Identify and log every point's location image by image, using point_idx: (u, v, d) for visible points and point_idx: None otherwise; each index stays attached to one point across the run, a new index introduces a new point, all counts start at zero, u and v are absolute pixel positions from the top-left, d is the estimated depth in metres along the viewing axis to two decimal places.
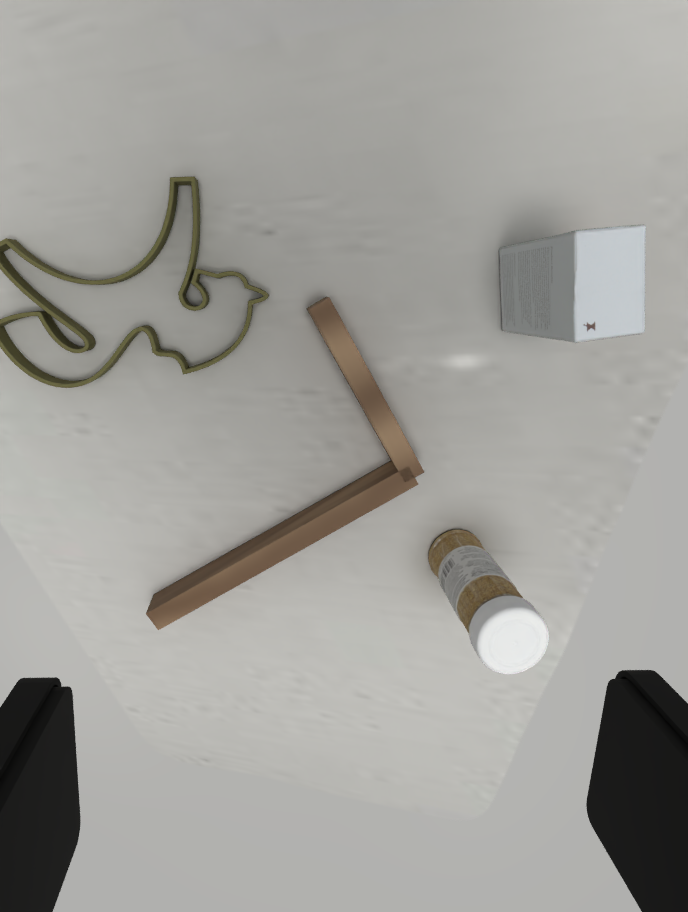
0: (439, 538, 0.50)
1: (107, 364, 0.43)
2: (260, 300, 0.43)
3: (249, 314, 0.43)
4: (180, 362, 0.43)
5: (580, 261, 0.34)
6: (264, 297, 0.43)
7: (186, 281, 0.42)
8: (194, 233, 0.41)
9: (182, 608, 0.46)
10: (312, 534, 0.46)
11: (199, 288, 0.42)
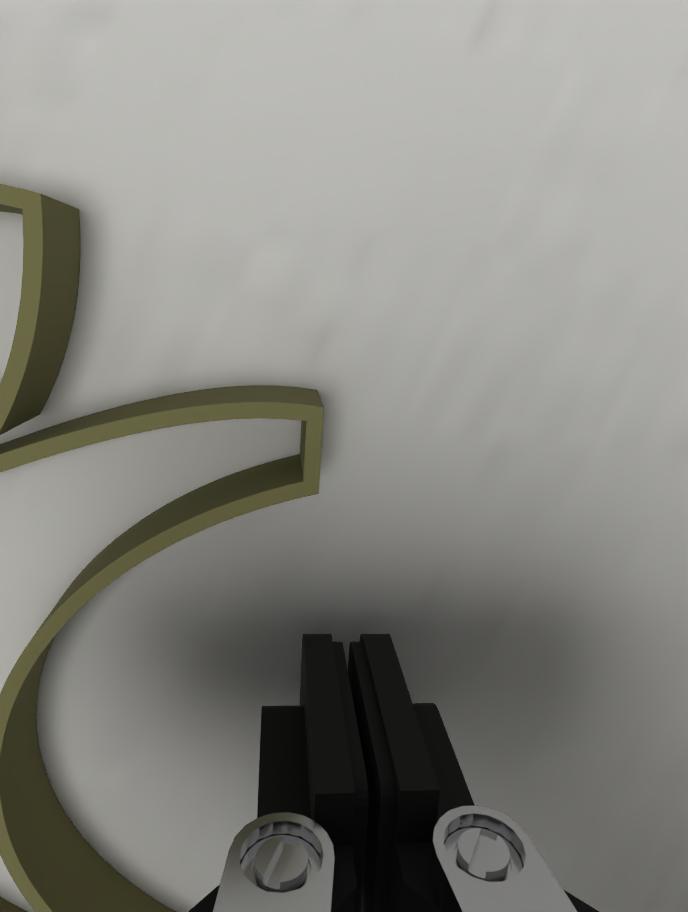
0: None
1: None
2: None
3: None
4: None
5: None
6: None
7: None
8: None
9: None
10: None
11: None
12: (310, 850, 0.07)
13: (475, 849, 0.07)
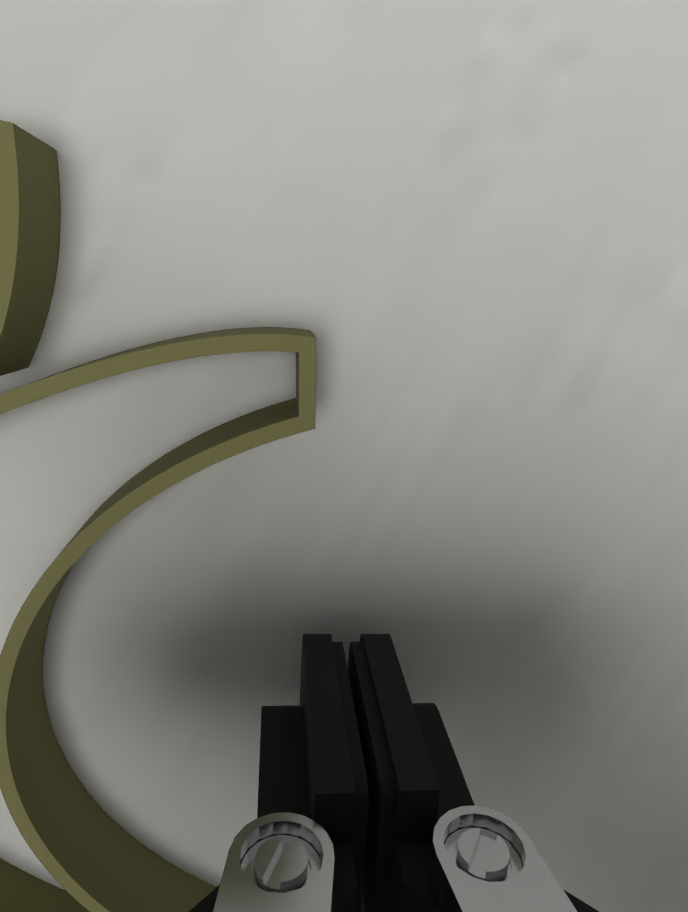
0: None
1: None
2: None
3: None
4: None
5: None
6: None
7: None
8: None
9: None
10: None
11: None
12: (310, 850, 0.07)
13: (475, 849, 0.07)
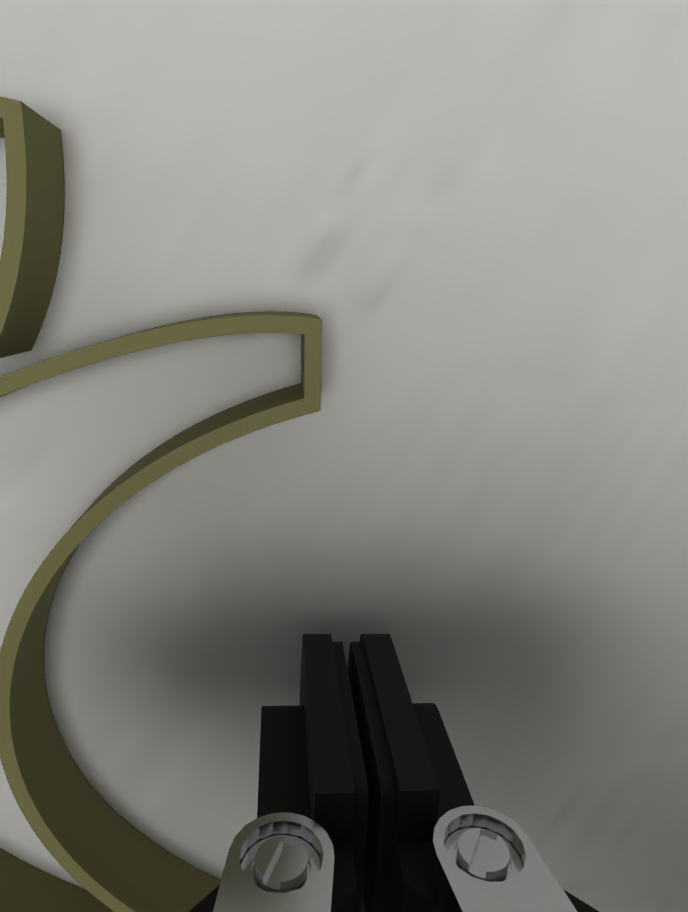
0: None
1: None
2: None
3: None
4: None
5: None
6: None
7: None
8: None
9: None
10: None
11: None
12: (310, 850, 0.07)
13: (475, 849, 0.07)
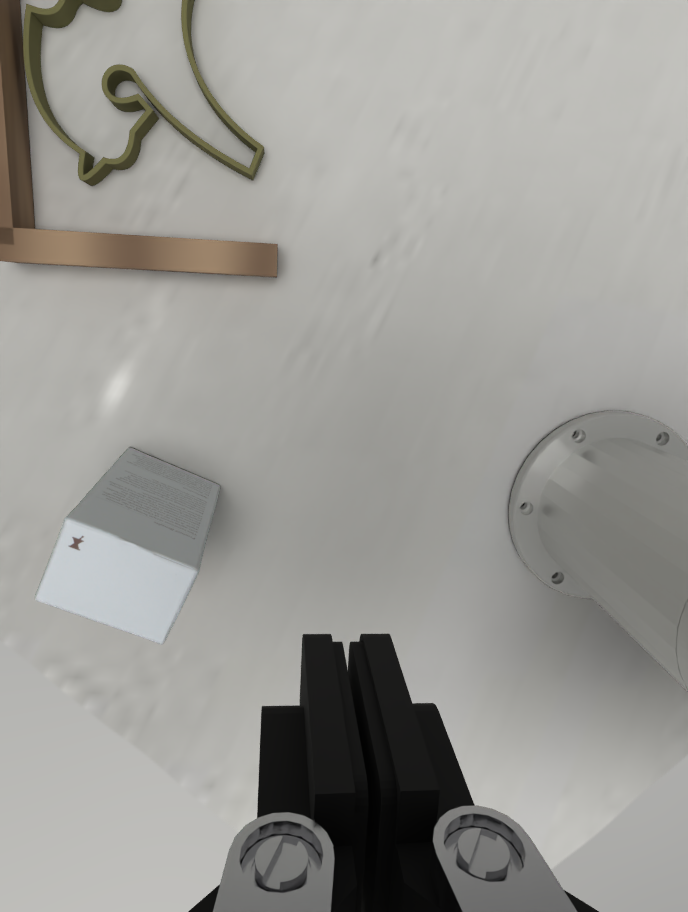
0: None
1: None
2: (79, 167, 0.32)
3: (68, 143, 0.32)
4: (44, 11, 0.30)
5: (161, 562, 0.27)
6: (81, 174, 0.32)
7: (142, 89, 0.31)
8: (192, 135, 0.32)
9: None
10: None
11: (127, 99, 0.31)
12: (310, 849, 0.07)
13: (475, 849, 0.07)
